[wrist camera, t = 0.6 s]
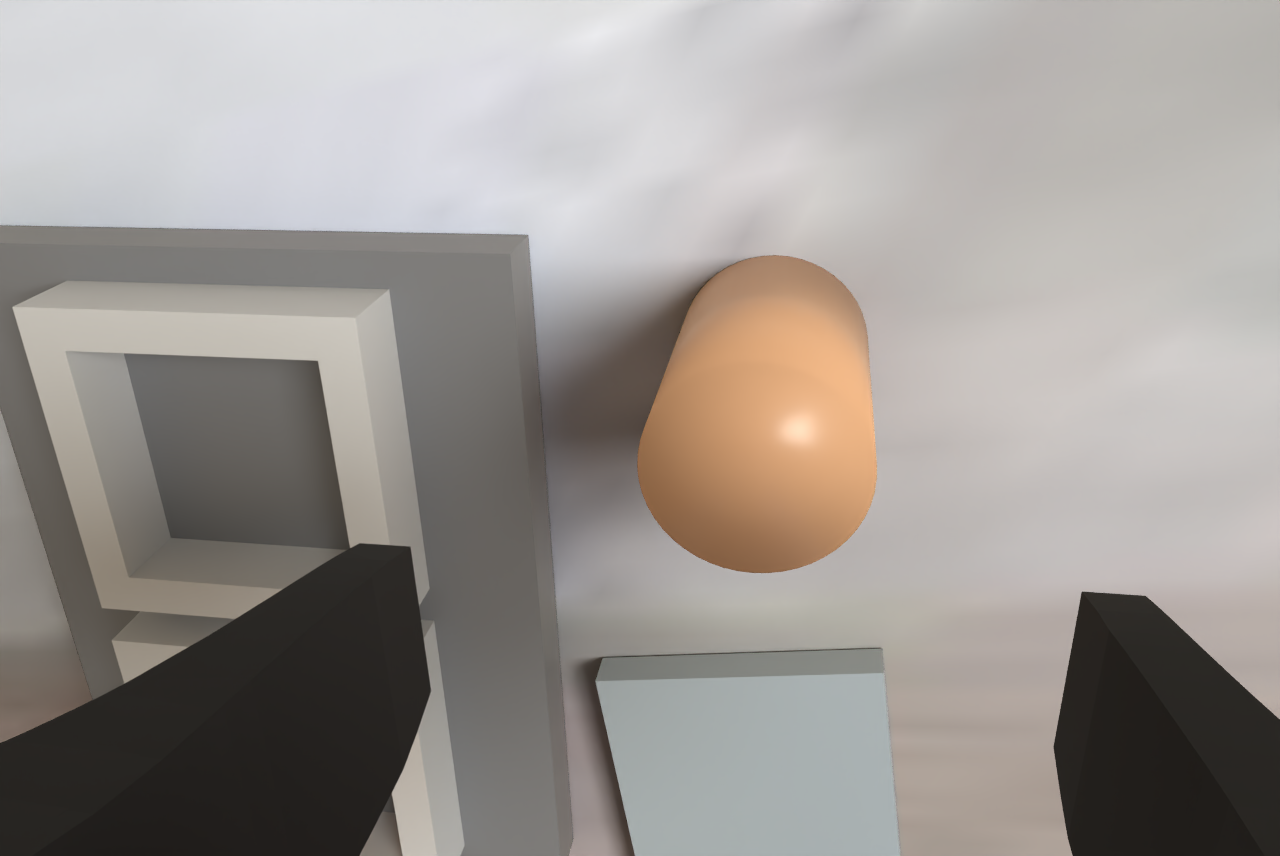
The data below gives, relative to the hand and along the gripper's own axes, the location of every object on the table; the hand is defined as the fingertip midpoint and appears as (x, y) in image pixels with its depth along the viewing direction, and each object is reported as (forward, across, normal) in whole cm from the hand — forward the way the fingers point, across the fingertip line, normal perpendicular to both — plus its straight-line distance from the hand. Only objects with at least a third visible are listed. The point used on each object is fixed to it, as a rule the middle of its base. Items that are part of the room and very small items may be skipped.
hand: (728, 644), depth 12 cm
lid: (+9, 0, +11) cm, 14 cm away
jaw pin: (+9, 0, 0) cm, 9 cm away
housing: (+9, +10, +6) cm, 15 cm away
